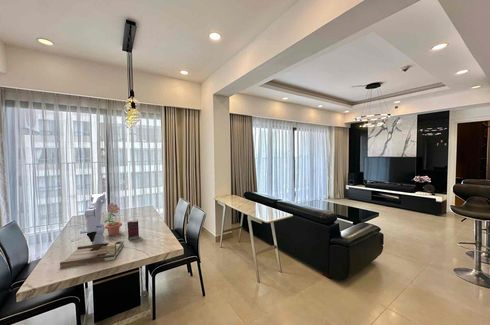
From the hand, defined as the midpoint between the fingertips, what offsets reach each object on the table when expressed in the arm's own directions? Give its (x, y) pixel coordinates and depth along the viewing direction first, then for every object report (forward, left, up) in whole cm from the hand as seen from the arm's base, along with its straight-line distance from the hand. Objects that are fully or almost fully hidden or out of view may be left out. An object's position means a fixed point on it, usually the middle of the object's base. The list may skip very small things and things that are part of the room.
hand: (92, 241), depth 152 cm
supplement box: (-20, +24, -10) cm, 33 cm away
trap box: (+4, +3, -9) cm, 11 cm away
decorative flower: (-37, +3, -10) cm, 38 cm away
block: (+4, +14, -7) cm, 17 cm away
